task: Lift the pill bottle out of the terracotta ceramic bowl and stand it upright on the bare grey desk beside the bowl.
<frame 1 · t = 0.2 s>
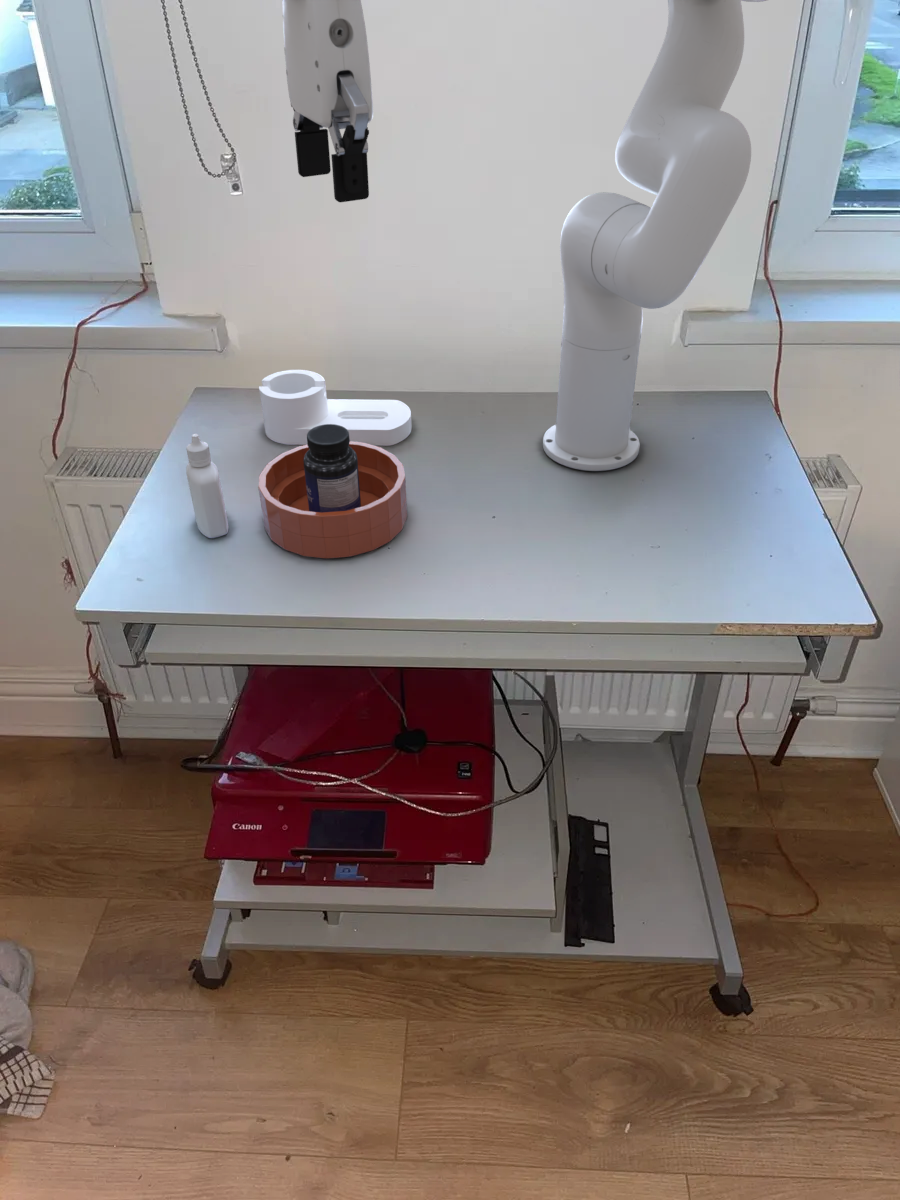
hand: (332, 186, 90), 37 cm above the table, tool pointing down, fingers open, 9 cm apart
pill bottle: (336, 518, 112), resting on bowl
bracket: (338, 430, 129), on the table
eye dropper bottle: (213, 527, 111), on the table
bowl: (336, 519, 112), on the table
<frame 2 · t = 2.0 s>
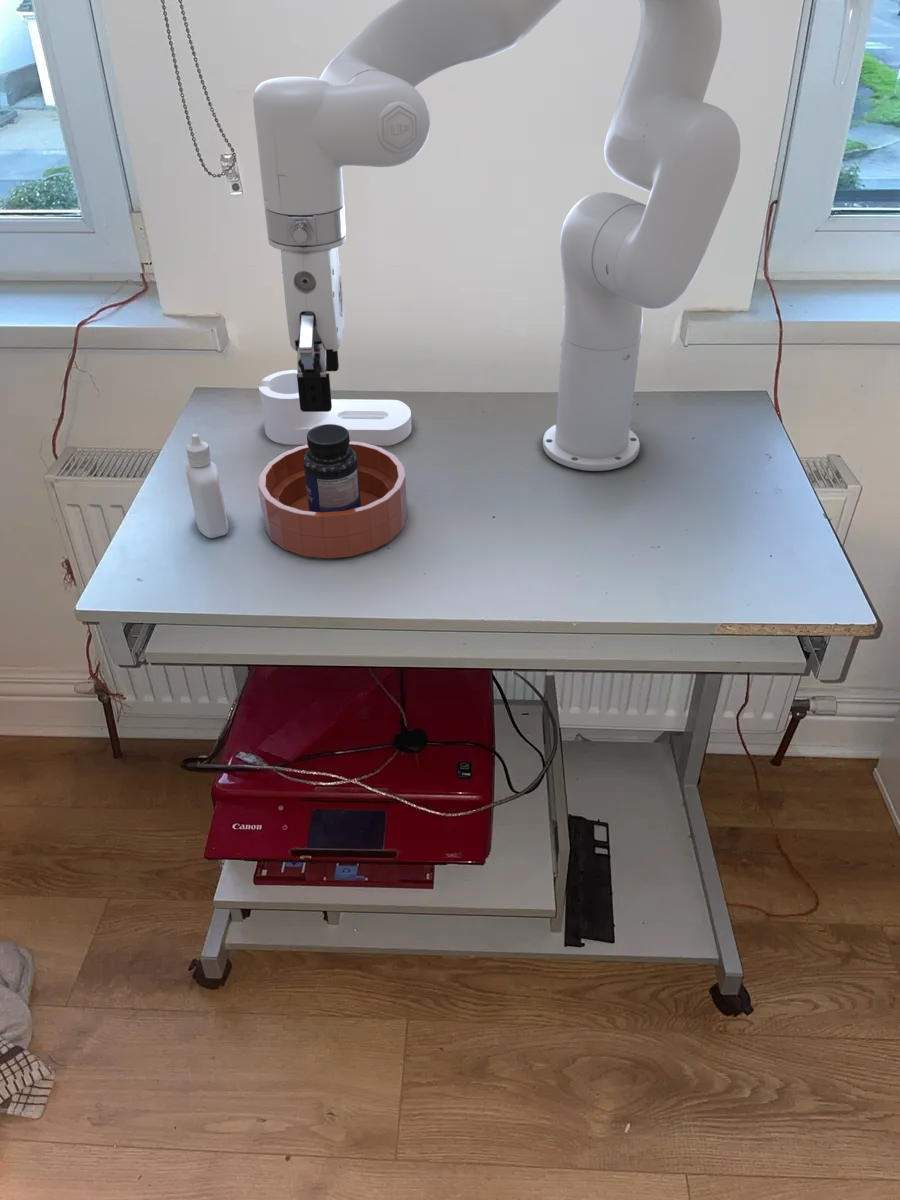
hand: (320, 389, 101), 17 cm above the table, tool pointing down, fingers open, 9 cm apart
nothing on the table moved.
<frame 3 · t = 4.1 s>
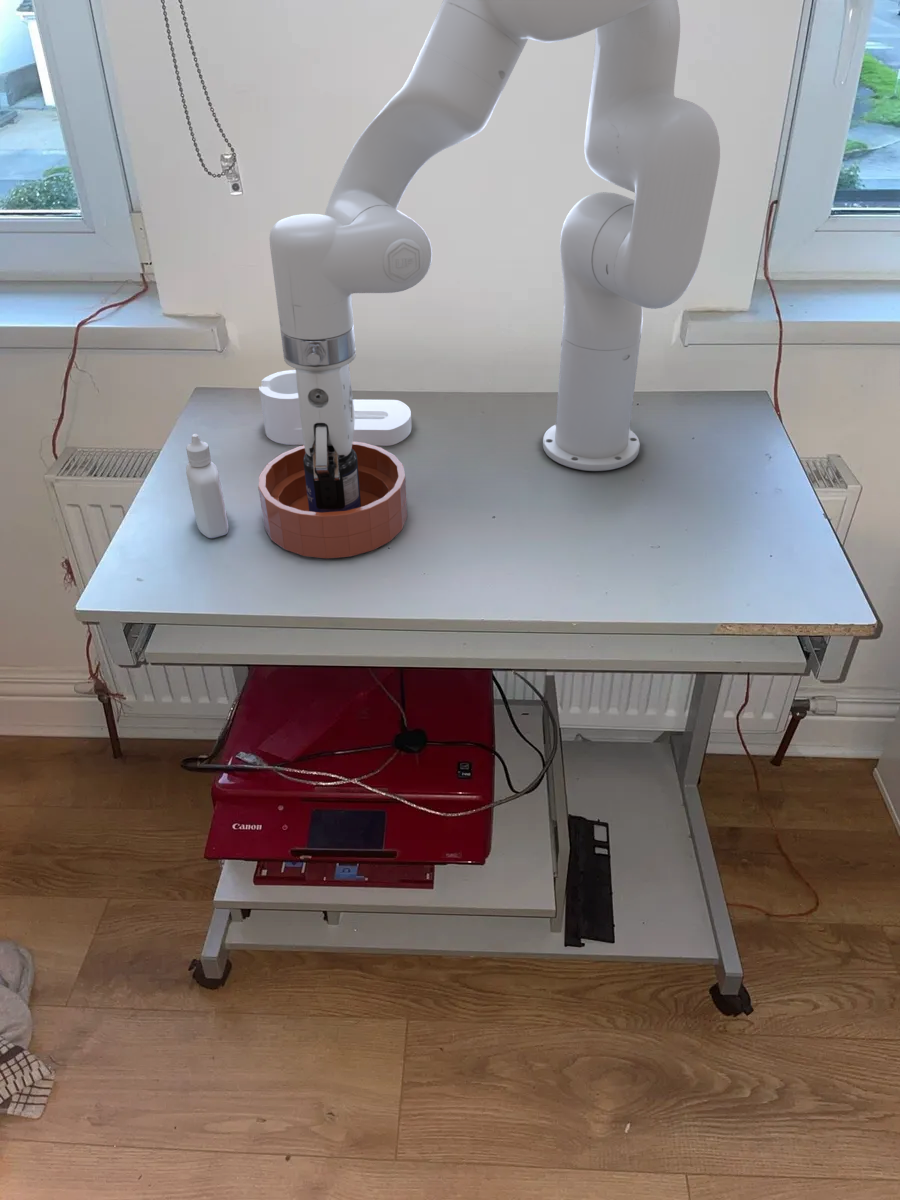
hand: (333, 489, 109), 4 cm above the table, tool pointing down, fingers closed on pill bottle, 6 cm apart
pill bottle: (336, 518, 112), resting on bowl, touching gripper
everything else where it was.
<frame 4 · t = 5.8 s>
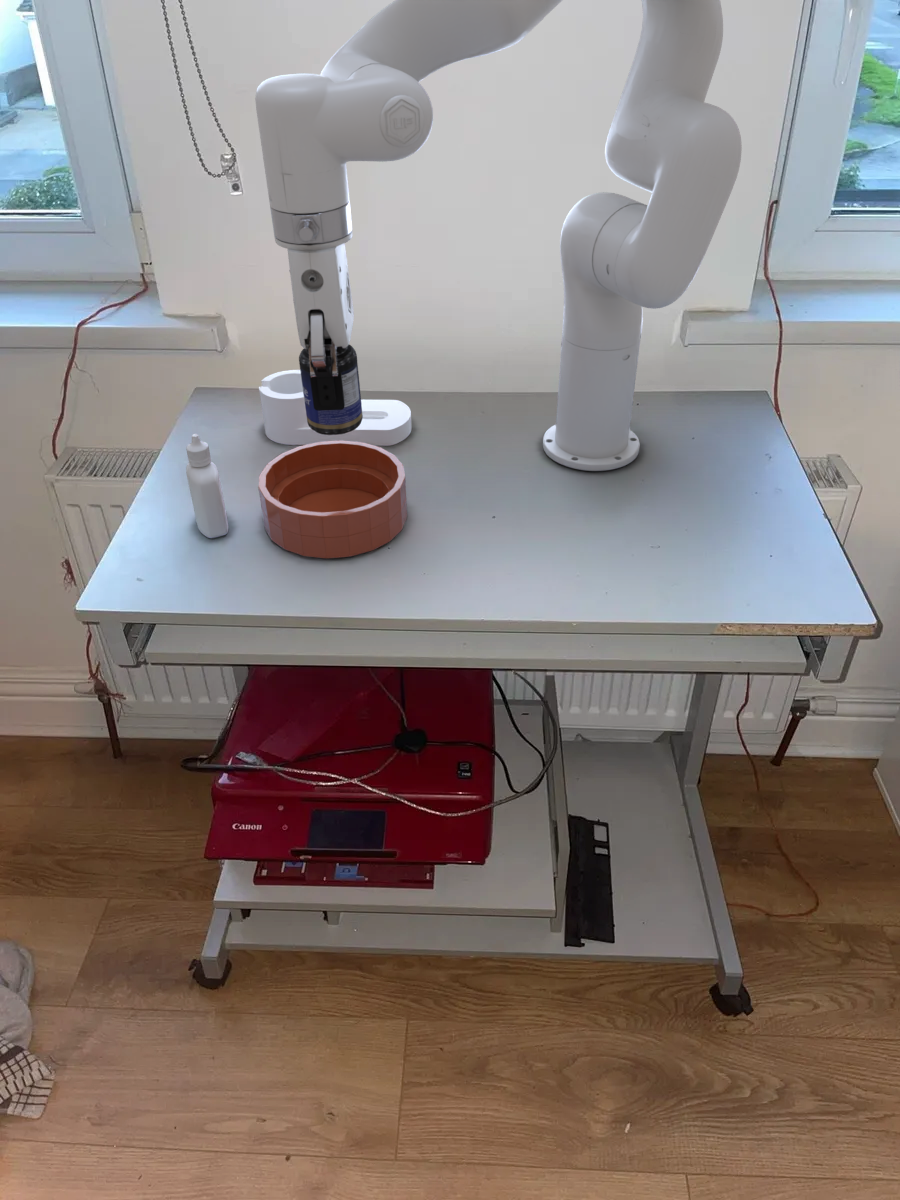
hand: (332, 392, 102), 16 cm above the table, tool pointing down, fingers closed on pill bottle, 6 cm apart
pill bottle: (335, 425, 104), point 12 cm above the table, touching gripper
everything else where it was.
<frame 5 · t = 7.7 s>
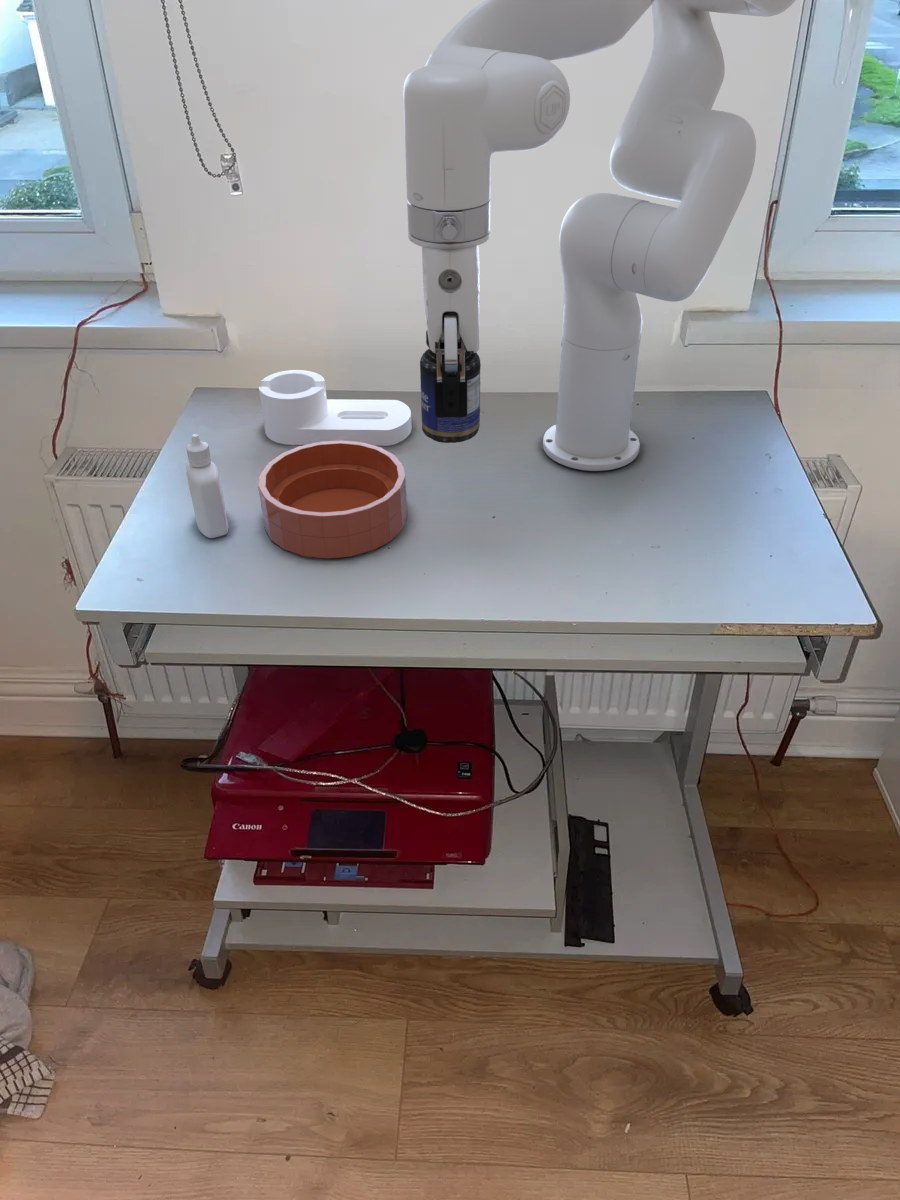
hand: (450, 398, 97), 18 cm above the table, tool pointing down, fingers closed on pill bottle, 6 cm apart
pill bottle: (451, 432, 100), point 14 cm above the table, touching gripper
everything else where it was.
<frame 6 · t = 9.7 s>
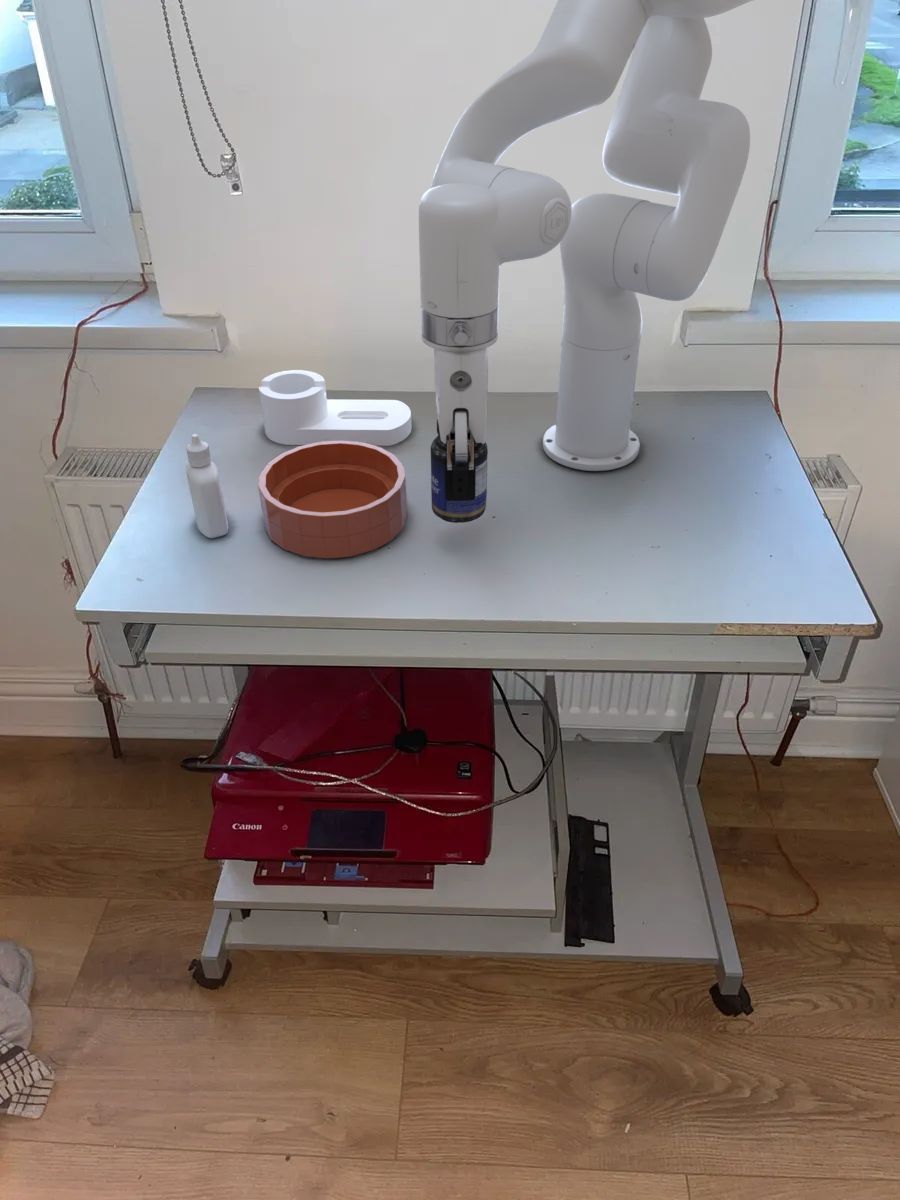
hand: (459, 481, 103), 8 cm above the table, tool pointing down, fingers closed on pill bottle, 6 cm apart
pill bottle: (459, 511, 105), point 4 cm above the table, touching gripper
everything else where it was.
when the fingers open (4 cm above the table, at t = 11.3 s): pill bottle stays where it is, on the table.
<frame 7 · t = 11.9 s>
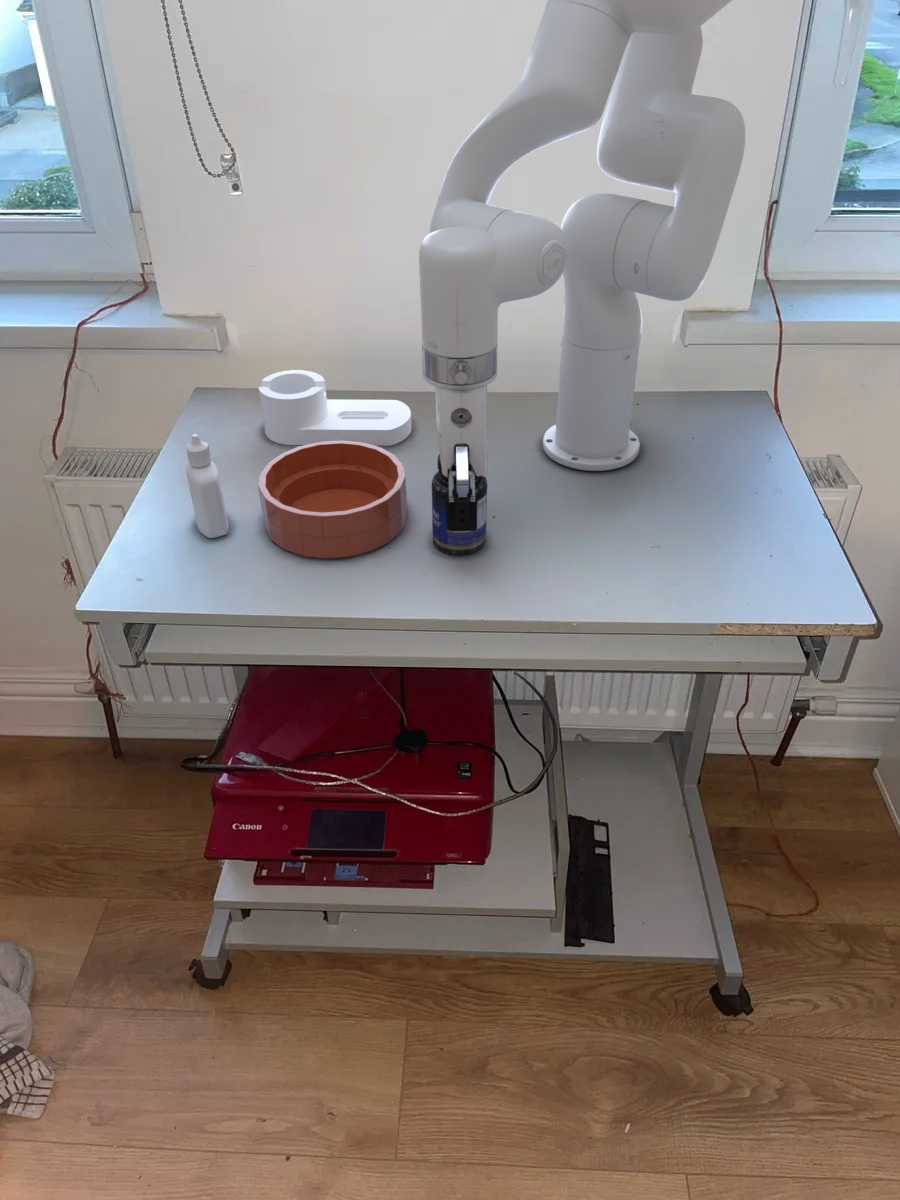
hand: (460, 504, 105), 5 cm above the table, tool pointing down, fingers open, 9 cm apart
pill bottle: (459, 542, 108), on the table
everything else where it was.
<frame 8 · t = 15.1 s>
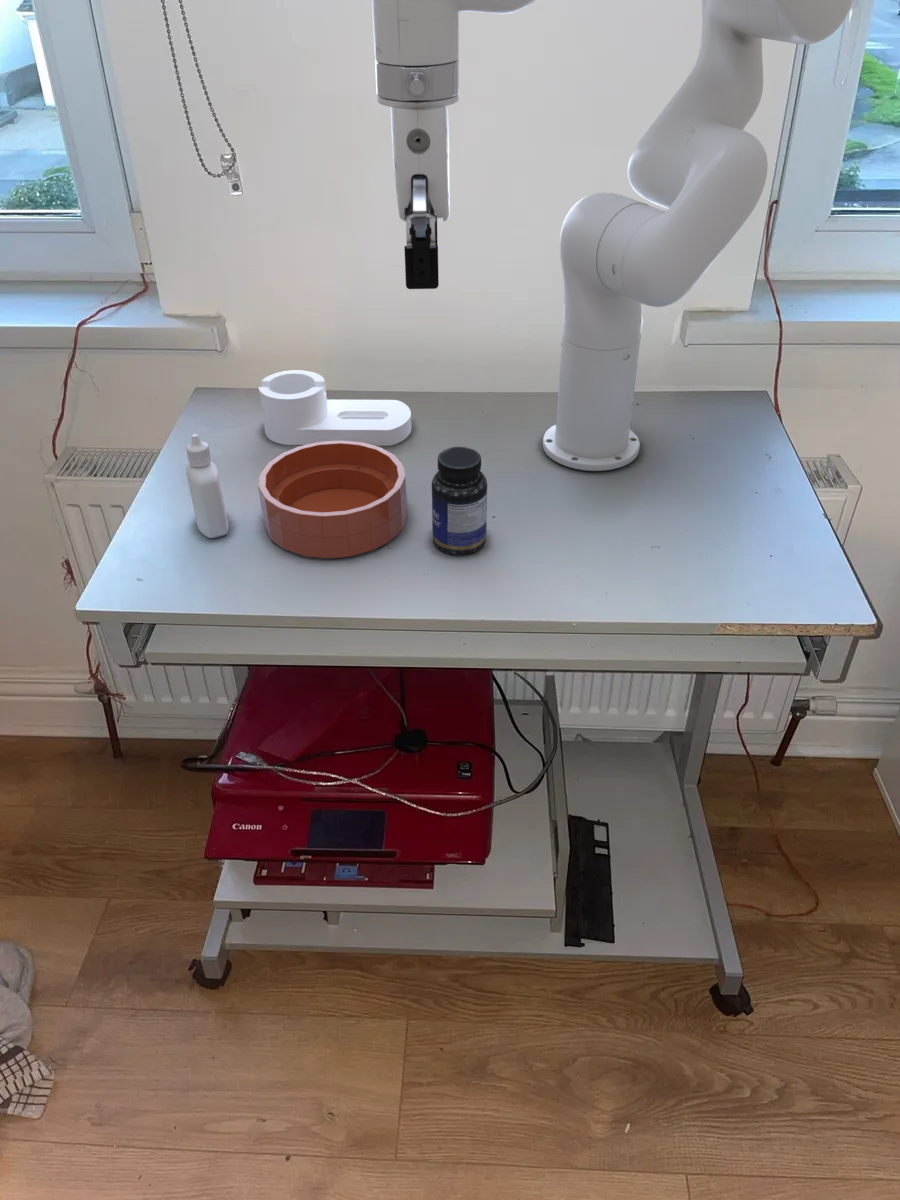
hand: (422, 270, 97), 28 cm above the table, tool pointing down, fingers open, 9 cm apart
nothing on the table moved.
at the end: pill bottle inside the target area (0.1 cm from its centre), on the table; pill bottle tilted 0°; the gripper is holding nothing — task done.
